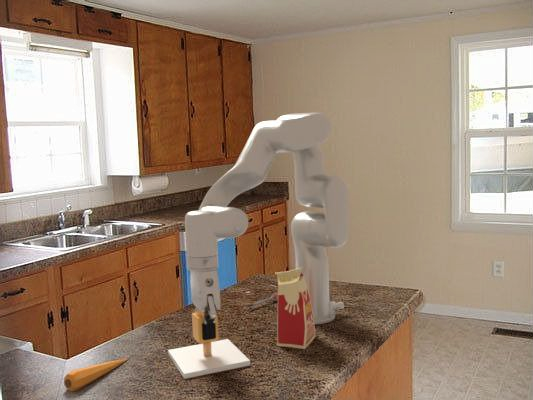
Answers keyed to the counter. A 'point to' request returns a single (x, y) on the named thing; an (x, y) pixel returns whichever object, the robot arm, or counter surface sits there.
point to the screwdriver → (273, 297)
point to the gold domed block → (197, 326)
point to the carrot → (88, 374)
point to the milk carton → (294, 311)
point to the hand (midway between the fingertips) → (205, 334)
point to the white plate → (207, 358)
